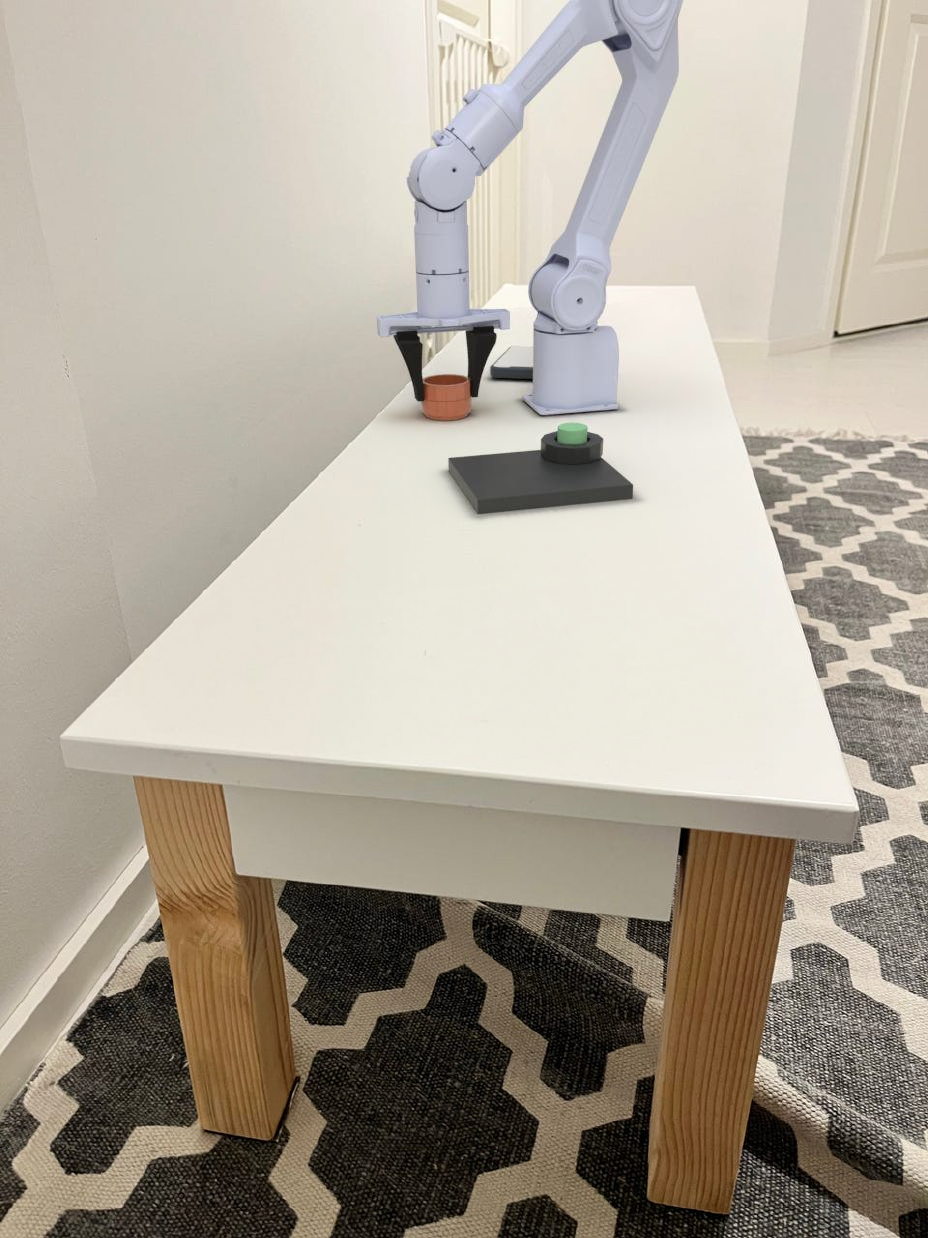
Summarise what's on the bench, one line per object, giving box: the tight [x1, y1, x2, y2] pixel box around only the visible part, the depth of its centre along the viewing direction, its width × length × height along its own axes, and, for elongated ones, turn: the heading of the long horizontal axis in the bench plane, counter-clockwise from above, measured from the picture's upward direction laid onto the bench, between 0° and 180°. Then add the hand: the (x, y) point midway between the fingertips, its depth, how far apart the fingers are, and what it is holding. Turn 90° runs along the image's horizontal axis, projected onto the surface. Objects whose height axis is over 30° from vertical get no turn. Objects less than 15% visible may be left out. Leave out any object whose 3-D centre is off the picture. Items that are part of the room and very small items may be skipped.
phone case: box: [489, 345, 533, 380], centre depth 131 cm, size 9×2×16 cm
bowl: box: [421, 373, 472, 422], centre depth 110 cm, size 6×6×4 cm
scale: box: [447, 430, 634, 515], centre depth 89 cm, size 14×12×3 cm
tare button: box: [557, 422, 588, 444], centre depth 92 cm, size 3×3×2 cm
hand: (445, 397), depth 110 cm, fingers closed on bowl, 5 cm apart
